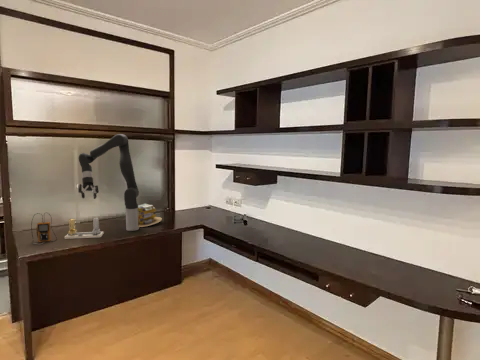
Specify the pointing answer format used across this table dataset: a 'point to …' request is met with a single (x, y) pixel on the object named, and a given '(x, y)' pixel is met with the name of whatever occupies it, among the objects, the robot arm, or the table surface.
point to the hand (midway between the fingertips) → (89, 198)
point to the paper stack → (147, 215)
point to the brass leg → (72, 227)
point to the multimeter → (43, 231)
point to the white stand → (92, 234)
